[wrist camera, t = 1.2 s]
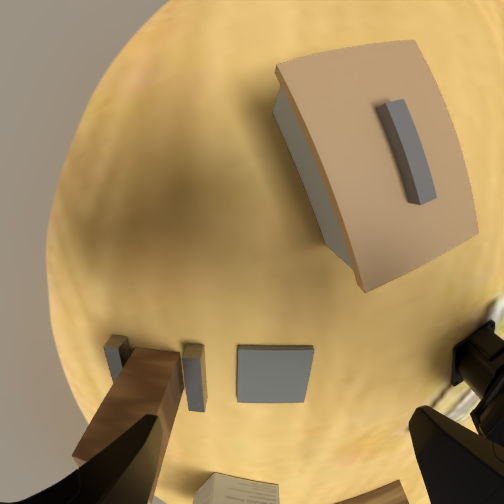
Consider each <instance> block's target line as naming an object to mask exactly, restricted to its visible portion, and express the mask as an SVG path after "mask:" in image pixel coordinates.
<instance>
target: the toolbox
mask: <svg viewBox="0 0 504 504" xmlns="http://www.w3.org/2000/svg"><path fill="white" fill-rule="evenodd" d="M275 75H276V77H277V78H278V80H279V82H280V84H281V86H280V90H279V93H278V96H277V99H276V103H275V106H274V109H273V112H272V113H273V115H274V117H275V119H276V122H277V124H278V126H279V128H280V131H281V133H282V135H283V137H284V140H285V142H286V144H287V147H288V149H289V151H290V154H291V156H292V158H293V161H294V163H295V165H296V168H297V170H298V173H299V175H300V178H301V180H302V183H303V185H304V188H305V190H306V193H307V195H308V198H309V200H310V203H311V206H312V208H313V211H314V214H315V216H316V219H317V222H318V224H319V227H320V230H321V233H322V236H323V238H324V241H325V244H326V246H327V247H328V248H329V249H331V250H332V251H333V252H334V253H335V254H336V255H337V256H338V257H340V258H341V259H342V260H343V261H344V262H345V263H346V264H347V265H348V266H350V267H351V268H352V269H353V271H354V274H355V277H356V281H357V284H358V286H359V287H360V288H361V289H362V290H363V291H364V292H365V293H366V292H369V291H371V290H373V289H375V288H377V287H379V286H381V285H383V284H386V283H388V282H390V281H392V280H394V279H396V278H398V277H400V276H402V275H404V274H406V273H408V272H410V271H412V270H414V269H416V268H418V267H420V266H421V265H423V264H425V263H427V262H429V261H431V260H433V259H435V258H436V257H438V256H440V255H442V254H444V253H446V252H447V251H449V250H451V249H453V248H454V247H456V246H458V245H460V244H461V243H463V242H465V241H467V240H468V239H470V238H472V237H473V236H475V235H477V234H478V233H479V231H478V224H477V217H476V211H475V205H474V200H473V195H472V190H471V185H470V181H469V177H468V172H467V168H466V165H465V161H464V157H463V154H462V150H461V147H460V144H459V140H458V137H457V134H456V131H455V128H454V125H453V123H452V120H451V117H450V114H449V112H448V109H447V107H446V104H445V102H444V99H443V97H442V94H441V92H440V90H439V88H438V85H437V83H436V81H435V79H434V77H433V75H432V72H431V70H430V68H429V66H428V64H427V62H426V60H425V59H424V57H423V55H422V53H421V51H420V49H419V47H418V46H417V44H416V42H415V40H402V41H391V42H381V43H373V44H366V45H359V46H353V47H347V48H342V49H337V50H332V51H327V52H322V53H318V54H314V55H310V56H306V57H302V58H298V59H294V60H290V61H287V62H283V63H280V64H277V65H276V69H275Z"/></svg>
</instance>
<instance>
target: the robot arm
mask: <svg viewBox="0 0 504 504" xmlns="http://www.w3.org/2000/svg"><path fill="white" fill-rule="evenodd" d="M494 330H495V322H494V321H493V320H491V321H490V322H488V323H487V324H486V325H484V326H483V327H482V328H480V329H479V330H478V331H476V332H475V333H473V334H472V335H471V336H469V337H468V338H466V339H465V340H463V341H462V342H461V343H459V344H458V345H456V346H455V348H454V350H453V371H452V385H453V386H456V385H458V384H459V383H461V382H462V381H465V382H466V383H467V384H468V385H469V387H470V388H471V389H472V390H473V391H474V392H475V393H476V395H477V396H478V397H479V398H480V399H481V401H480V402H479V404H478V405H477V406H476V408H475V409H474V410H472V412H471V413H470V415H471V418H472V421H473V423H474V425H475V427H476V429H477V431H478V434H479V435H478V434H476V433H475V432H473V431H471V430H469V429H467V428H466V427H464V426H462V425H460V424H459V423H457V422H455V421H453V420H451V419H450V418H448V417H446V416H445V415H443V414H441V413H439V412H438V411H436V410H434V409H433V408H431V407H429V406H427V405H424V406H420V407H418V408H416V410H415V412H414V414H413V415H412V417H411V419H410V421H409V431H410V435H411V439H412V443H413V447H414V451H415V455H416V459H417V462H418V465H419V468H420V471H421V474H422V477H423V480H424V483H425V486H426V489H427V492H428V495H429V499H430V502H431V504H504V340H503V339H501V338H500V337H499V336H498V335H496V334H495V333H494ZM162 437H163V429H162V425H161V421H160V418H159V416H158V415H154V414H145V415H144V416H143V417H142V418H140V419H139V420H138V421H137V422H136V423H134V424H133V425H132V426H131V427H130V428H128V429H127V430H126V431H125V432H124V433H122V434H121V435H120V436H119V437H117V438H116V439H115V440H114V441H112V442H111V443H110V444H109V445H107V446H106V447H105V448H104V449H102V450H101V451H100V452H99V453H97V454H96V455H95V456H93V457H92V458H91V459H90V460H88V461H87V462H86V463H84V464H83V465H82V466H80V467H79V468H78V469H76V470H75V471H74V472H72V473H71V474H70V475H68V476H67V477H65V478H64V479H62V480H61V481H59V482H58V483H56V484H54V485H52V486H51V487H49V488H47V489H45V490H43V491H41V492H39V493H37V494H35V495H33V496H31V497H28V498H26V499H24V500H21V501H18V502H12V503H4V502H0V504H147V503H148V499H149V496H150V493H151V489H152V486H153V483H154V479H155V476H156V472H157V467H158V461H159V455H160V449H161V443H162Z"/></svg>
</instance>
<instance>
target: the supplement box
mask: <svg viewBox="0 0 504 504" xmlns="http://www.w3.org/2000/svg"><path fill="white" fill-rule="evenodd" d="M193 504H280V502H279V486H278V485H274V484H268V483H262V482H256V481H251V480H246V479H241V478H236V477H232V476H228V475H224V474H220V473H214V474H213V475H212V476H211V477H210V478H209V479H208V480H207V481H206V482H205V483H204V484H203V485H202V486H201V487H200V488H199V489H198V490H197V491H196V492H195V494H194V499H193Z"/></svg>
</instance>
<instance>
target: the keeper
mask: <svg viewBox="0 0 504 504" xmlns="http://www.w3.org/2000/svg"><path fill="white" fill-rule="evenodd" d="M104 350H105V354H106V358H107V362H108V366H109V369H110V373H111V376H112V380H113V383H114V382H115V380H116V379H117V377H118V375H119V374H120V372H121V370H122V369H123V367H124V366H125V364H126V362H127V361H128V359H129V358H130V356H131V355H130V350H129V345H128V339H127V337H126V336H119V335H112V337H111V338H110V339H109V340H108V341H107V343H106V344H105V345H104ZM182 361H183V370H184V378H185V386H186V394H187V401H188V408H189V411H197V412H205V408H206V403H207V384H206V368H205V351H204V345H197V344H187V346H186V348H185V351H184V354H183V357H182Z"/></svg>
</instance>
